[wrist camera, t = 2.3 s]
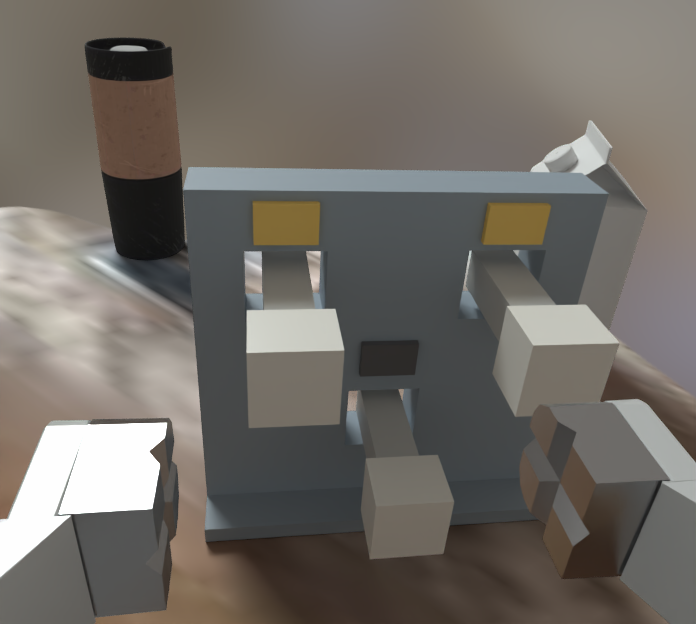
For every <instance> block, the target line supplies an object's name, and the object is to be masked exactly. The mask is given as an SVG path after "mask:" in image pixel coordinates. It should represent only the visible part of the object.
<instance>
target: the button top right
mask: <svg viewBox="0 0 696 624" xmlns="http://www.w3.org/2000/svg"><path fill="white" fill-rule="evenodd" d="M466 287H467V289H468V290H469V292H470V294H471V295H472V297H473V299H474V301H475V302H476V304H477V306H478V307H479V309H480V311H481V313H482V314H483V316H484V318H485V319H486V321H487V323H488V324H489V326H490V328H491V330H492V331H493V333H494V335H495V336H496V338H497V340H498V341H499V345H498V350H497V354H496V359H495V363H494V368H493V373H492V374H493V376H494V378H495V380H496V381H497V383H498V385H499V387H500V389H501V391H502V393H503V395H504V397H505V398H506V400H507V402H508V404H509V406H510V408H511V410H512V412H513V413H514V415H515V417H522V416H532V415H533V412H534V411H535V410H536V408H537V407H538V406H539V405H540V404H563V403H586V402H600V400H601V397H602V394H603V391H604V388H605V385H606V382H607V379H608V376H609V373H610V370H611V367H612V364H613V361H614V358H615V355H616V352H617V349H618V346H619V342H618V341H617V340H616V339H615V337H614V336H613V335H612V334H611V333H610V332H609V331H608V329H607V328H606V327H605V326H604V325H603V324H602V323H601V321H600V320H599V319H598V318H597V317H596V316H595V314H594V313H593V312H592V311H591V310H590V309H589V308H588V306H587V305H556V304H555V303H554V302H553V300H552V299H551V298H550V296H549V295H548V294H547V293H546V291H545V290H544V289H543V288H542V286H541V285H540V284H539V283H538V281H537V280H536V279H535V278H534V276H533V275H532V274H531V272H530V271H529V270H528V269H527V267H526V266H525V265H524V264H523V262H522V261H521V260H520V259H519V257H518V256H517V255H516V254H515V252H514V251H513V250H472V253H471V259H470V264H469V270H468V276H467V281H466Z"/></svg>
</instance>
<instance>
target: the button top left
mask: <svg viewBox="0 0 696 624" xmlns="http://www.w3.org/2000/svg"><path fill="white" fill-rule="evenodd" d="M262 293H263V310H247V350H246V354H247V389H248V424H249V428H263V427H287V426H310V425H334V424H340V409H341V394H342V379H343V365H344V346H343V341H342V337H341V332H340V328H339V323H338V318H337V314H336V309H315V303H314V297H313V291H312V285H311V280H310V274H309V268H308V262H307V256H306V251H262Z"/></svg>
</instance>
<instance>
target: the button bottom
mask: <svg viewBox="0 0 696 624" xmlns="http://www.w3.org/2000/svg"><path fill="white" fill-rule="evenodd" d="M356 413H357V417H358V422H359V427H360V431H361V436H362V441H363V445H364V450H365V455H366V461H365V471H364V481H363V492H362V502H361V514H362V520H363V525H364V530H365V536H366V541H367V546H368V552H369V557H370V559H382V558H395V557H409V556H423V555H436V554H444V549H445V544H446V539H447V535H448V530H449V525H450V520H451V515H452V510H453V506H454V499H453V497H452V494H451V491H450V488H449V485H448V482H447V479H446V477H445V474H444V471H443V468H442V465H441V462H440V459H439V457H438V455H423V456H419V454H418V450H417V447H416V444H415V441H414V438H413V435H412V431H411V428H410V425H409V422H408V419H407V416H406V412H405V409H404V406H403V403H402V400H401V396H400V393H399V390H398V389H386V390H358V392H357V404H356Z"/></svg>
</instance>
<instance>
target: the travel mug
mask: <svg viewBox="0 0 696 624" xmlns="http://www.w3.org/2000/svg"><path fill="white" fill-rule="evenodd" d="M171 51H172V49H171V47H167V48H166V47H165V45H164V43H163V42H161V41H158V40H152V39H144V38H105V39H96V40H92V41H88V42H87V43H85V54H86V61H87V69H88V76H89V83H90V90H91V98H92V106H93V112H94V120H95V128H96V135H97V143H98V150H99V157H100V165H101V171H102V177H103V183H104V188H105V194H106V199H107V205H108V210H109V216H110V221H111V227H112V233H113V238H114V243H115V247H116V250H117V251H118V253H120V254H121V255H123V256H125V257H128V258H132V259H139V260H152V259H160V258H165V257H168V256H171V255H174V254H176V253H177V252H179V251H180V250H181V249H182V248H183V247H184V243H185V236H184V213H183V190H182V169H181V155H180V144H179V133H178V122H177V112H176V99H175V89H174V77H173V65H172V54H171V53H172V52H171Z"/></svg>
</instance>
